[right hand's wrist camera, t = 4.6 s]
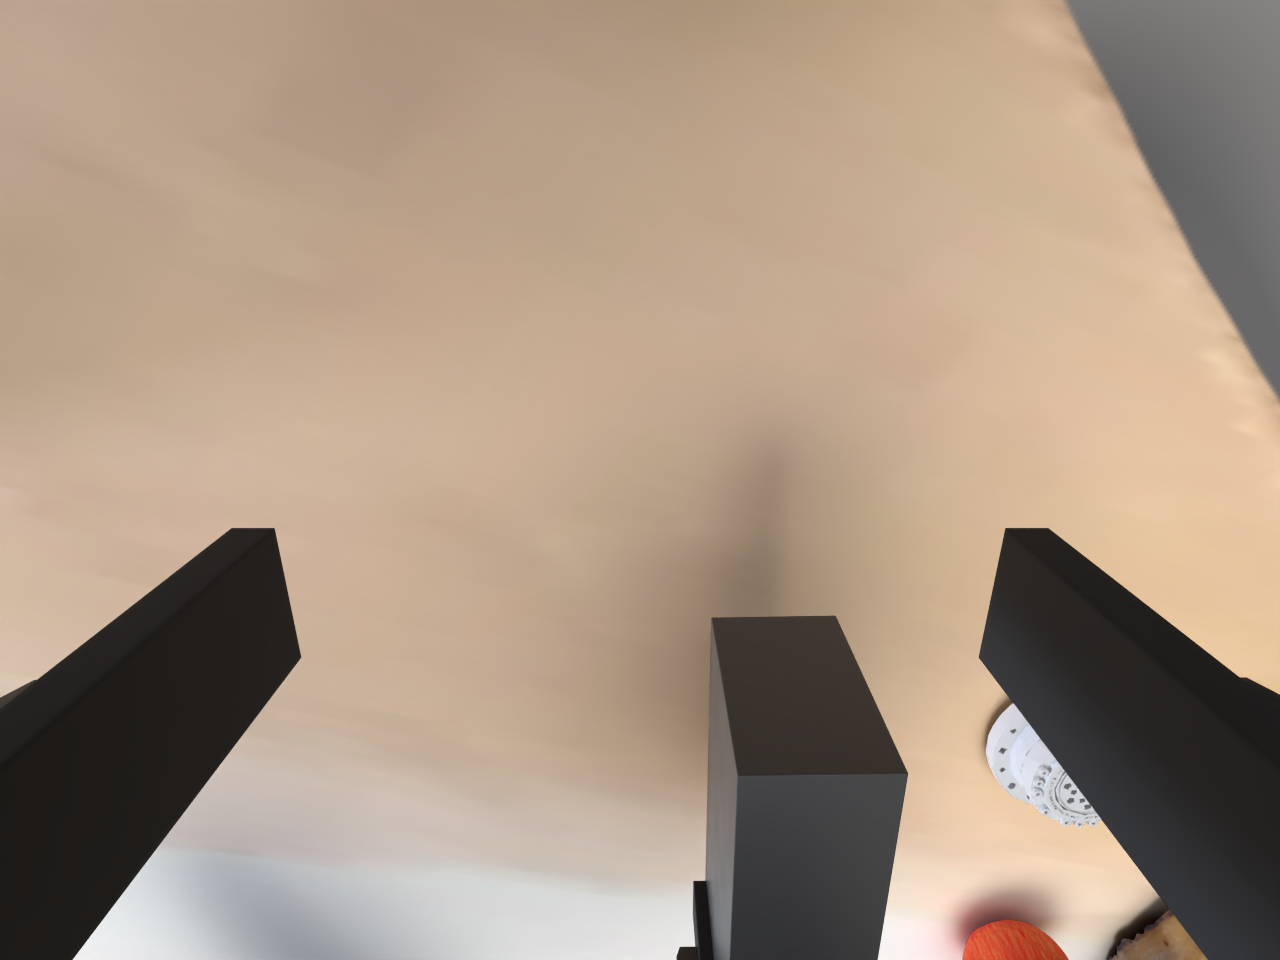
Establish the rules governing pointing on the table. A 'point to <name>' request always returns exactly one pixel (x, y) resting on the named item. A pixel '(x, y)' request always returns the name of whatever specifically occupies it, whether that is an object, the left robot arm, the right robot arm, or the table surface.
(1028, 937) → the apple
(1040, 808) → the mechanical component
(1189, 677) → the right robot arm
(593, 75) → the table surface
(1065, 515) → the table surface
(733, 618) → the box
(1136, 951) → the bread
